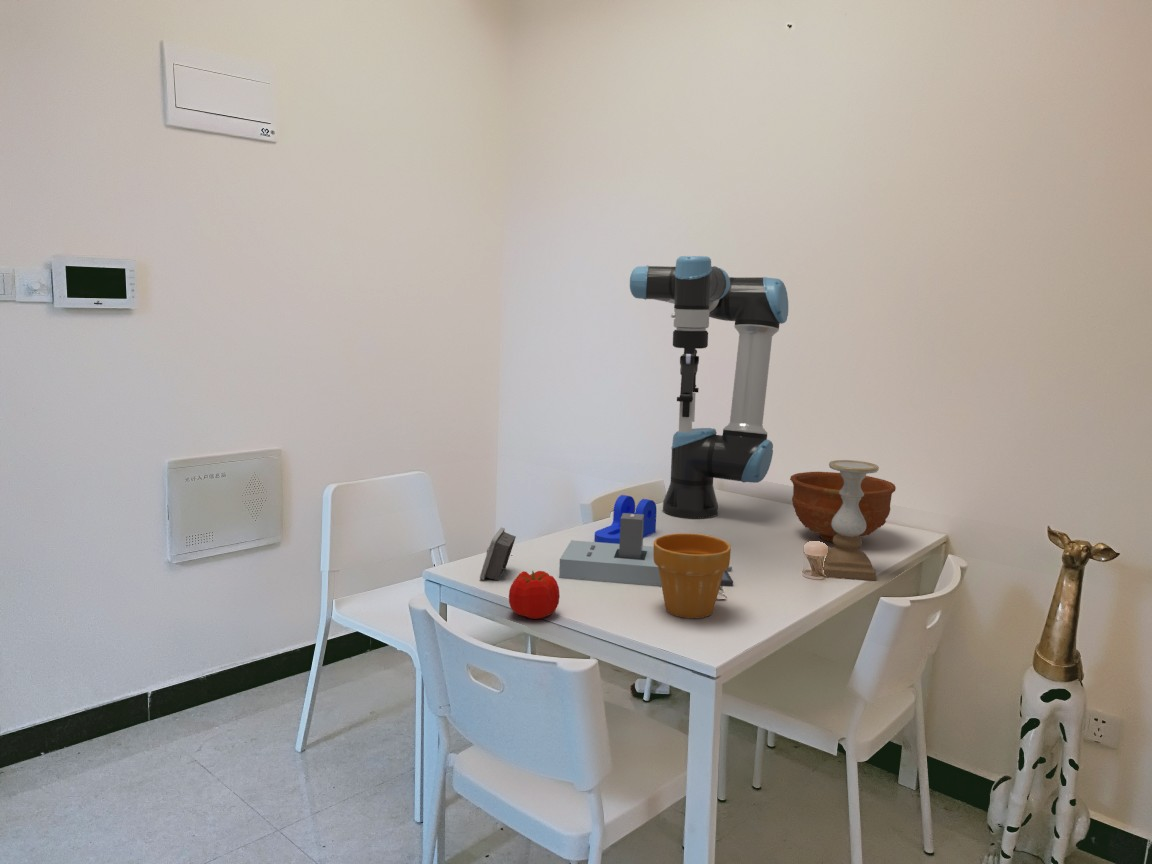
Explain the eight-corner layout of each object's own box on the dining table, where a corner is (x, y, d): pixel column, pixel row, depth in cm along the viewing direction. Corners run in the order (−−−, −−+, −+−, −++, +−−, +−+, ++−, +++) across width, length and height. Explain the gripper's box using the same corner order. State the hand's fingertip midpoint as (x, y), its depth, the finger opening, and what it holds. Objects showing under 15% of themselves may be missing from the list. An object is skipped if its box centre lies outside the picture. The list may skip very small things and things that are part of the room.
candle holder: (822, 577, 177) (831, 467, 173) (815, 561, 188) (823, 458, 184) (876, 581, 176) (886, 470, 172) (865, 565, 186) (874, 460, 183)
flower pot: (635, 608, 156) (638, 541, 154) (682, 591, 166) (685, 528, 164) (695, 631, 146) (699, 560, 144) (741, 611, 156) (746, 544, 154)
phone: (660, 573, 176) (661, 568, 176) (726, 574, 177) (726, 569, 177) (664, 584, 170) (664, 579, 169) (732, 586, 170) (733, 580, 170)
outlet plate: (570, 557, 185) (571, 539, 185) (669, 565, 182) (670, 546, 181) (559, 577, 172) (559, 558, 171) (665, 586, 168) (666, 566, 168)
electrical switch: (488, 566, 178) (493, 525, 176) (512, 570, 177) (517, 529, 175) (478, 581, 168) (483, 537, 167) (503, 585, 168) (508, 541, 166)
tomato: (544, 602, 157) (545, 564, 156) (566, 619, 150) (567, 579, 149) (499, 610, 153) (500, 571, 152) (519, 627, 145) (520, 586, 144)
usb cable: (663, 562, 184) (663, 558, 184) (664, 561, 185) (664, 557, 185) (731, 571, 179) (731, 567, 179) (731, 570, 180) (732, 566, 180)
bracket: (627, 527, 213) (628, 492, 211) (655, 532, 208) (657, 497, 207) (587, 542, 198) (588, 505, 197) (616, 549, 193) (618, 511, 192)
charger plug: (620, 566, 179) (622, 512, 177) (641, 568, 178) (644, 513, 176) (618, 573, 174) (620, 517, 173) (639, 575, 174) (642, 518, 172)
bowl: (782, 546, 199) (786, 485, 197) (790, 521, 222) (794, 466, 220) (892, 559, 191) (897, 496, 189) (888, 532, 215) (893, 475, 212)
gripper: (676, 325, 191) (673, 416, 195) (669, 332, 167) (665, 435, 171) (709, 326, 190) (705, 418, 194) (706, 333, 166) (702, 437, 169)
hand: (686, 426), depth 182 cm, fingers open, 13 cm apart
